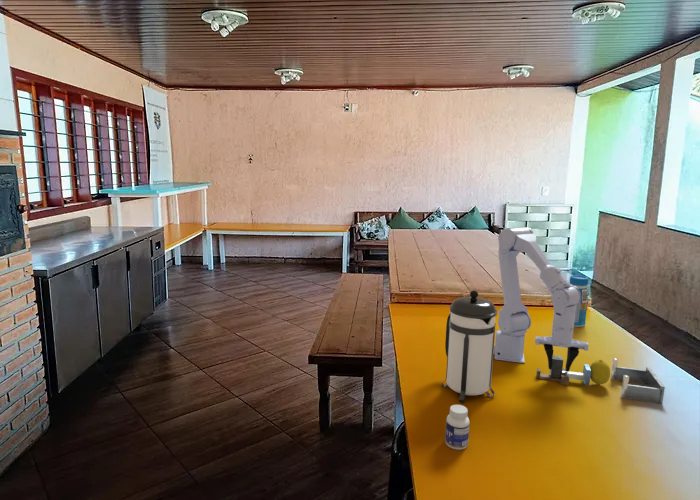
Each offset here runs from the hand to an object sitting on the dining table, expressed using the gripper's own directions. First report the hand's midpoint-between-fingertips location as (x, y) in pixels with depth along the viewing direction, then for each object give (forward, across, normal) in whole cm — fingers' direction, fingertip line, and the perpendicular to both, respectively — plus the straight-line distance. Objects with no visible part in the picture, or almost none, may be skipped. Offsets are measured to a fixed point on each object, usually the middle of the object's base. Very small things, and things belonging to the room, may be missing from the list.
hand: (558, 369), depth 144 cm
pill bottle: (+4, -27, -44) cm, 52 cm away
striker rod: (+3, +3, 0) cm, 4 cm away
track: (+3, -1, 0) cm, 4 cm away
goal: (+3, +21, 0) cm, 21 cm away
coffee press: (+4, -27, -16) cm, 31 cm away
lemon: (+4, +11, 0) cm, 12 cm away
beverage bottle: (+4, +13, +58) cm, 60 cm away
